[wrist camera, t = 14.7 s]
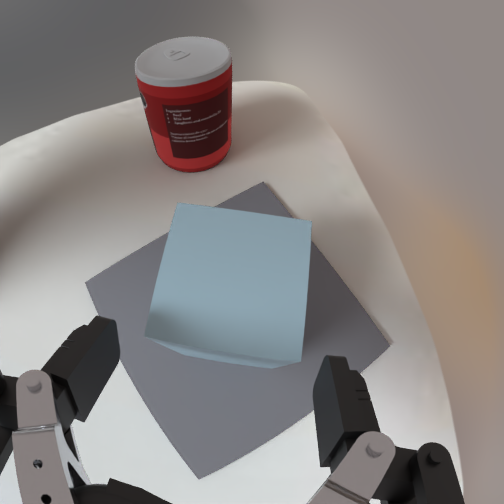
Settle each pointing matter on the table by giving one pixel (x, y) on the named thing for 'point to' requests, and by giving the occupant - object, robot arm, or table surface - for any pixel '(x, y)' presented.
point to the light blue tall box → (232, 287)
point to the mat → (228, 374)
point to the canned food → (187, 100)
